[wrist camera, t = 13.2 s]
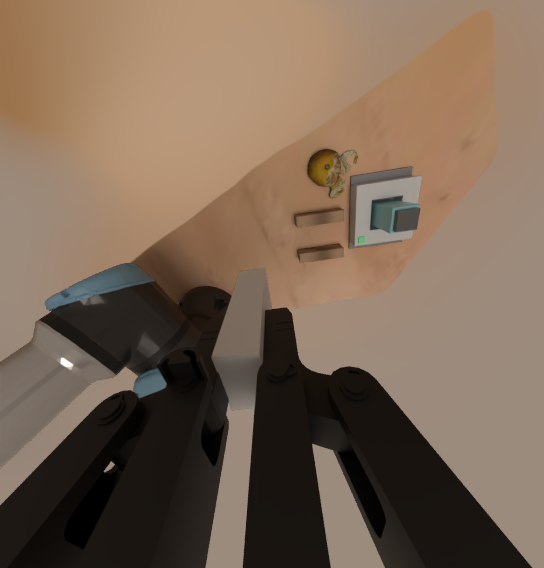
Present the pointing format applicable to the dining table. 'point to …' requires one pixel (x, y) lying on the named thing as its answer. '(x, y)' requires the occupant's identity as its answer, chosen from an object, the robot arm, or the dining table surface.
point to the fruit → (329, 169)
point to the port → (375, 189)
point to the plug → (394, 215)
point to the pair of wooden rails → (317, 219)
